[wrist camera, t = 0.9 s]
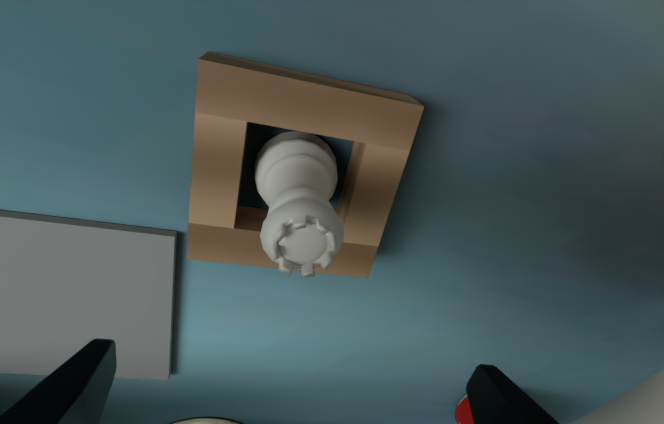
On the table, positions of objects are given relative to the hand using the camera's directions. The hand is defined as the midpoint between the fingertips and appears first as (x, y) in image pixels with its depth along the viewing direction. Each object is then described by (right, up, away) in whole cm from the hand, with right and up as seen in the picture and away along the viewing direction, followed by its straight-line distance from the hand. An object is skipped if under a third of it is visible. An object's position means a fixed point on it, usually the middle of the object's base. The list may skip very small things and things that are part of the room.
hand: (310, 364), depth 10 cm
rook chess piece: (-1, +6, +12) cm, 14 cm away
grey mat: (-15, -2, +14) cm, 21 cm away
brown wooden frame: (-1, +6, +12) cm, 13 cm away
